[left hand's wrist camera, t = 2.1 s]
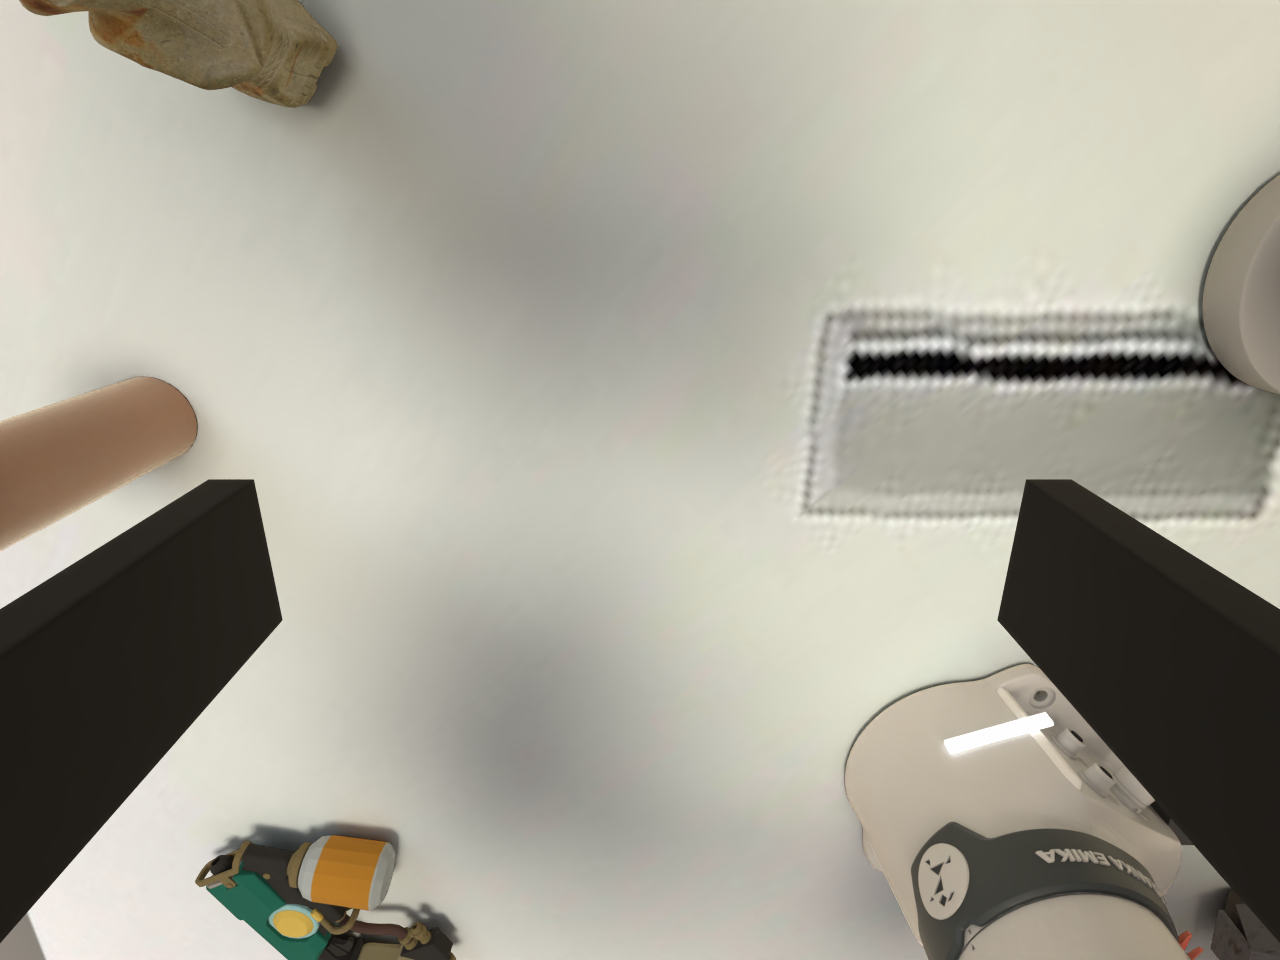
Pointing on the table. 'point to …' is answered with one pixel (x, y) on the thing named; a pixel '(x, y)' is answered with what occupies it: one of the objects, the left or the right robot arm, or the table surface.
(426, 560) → the table surface
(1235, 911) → the toy
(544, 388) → the table surface
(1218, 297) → the bust sculpture
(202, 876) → the spray gun
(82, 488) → the jar
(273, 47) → the sculpture
